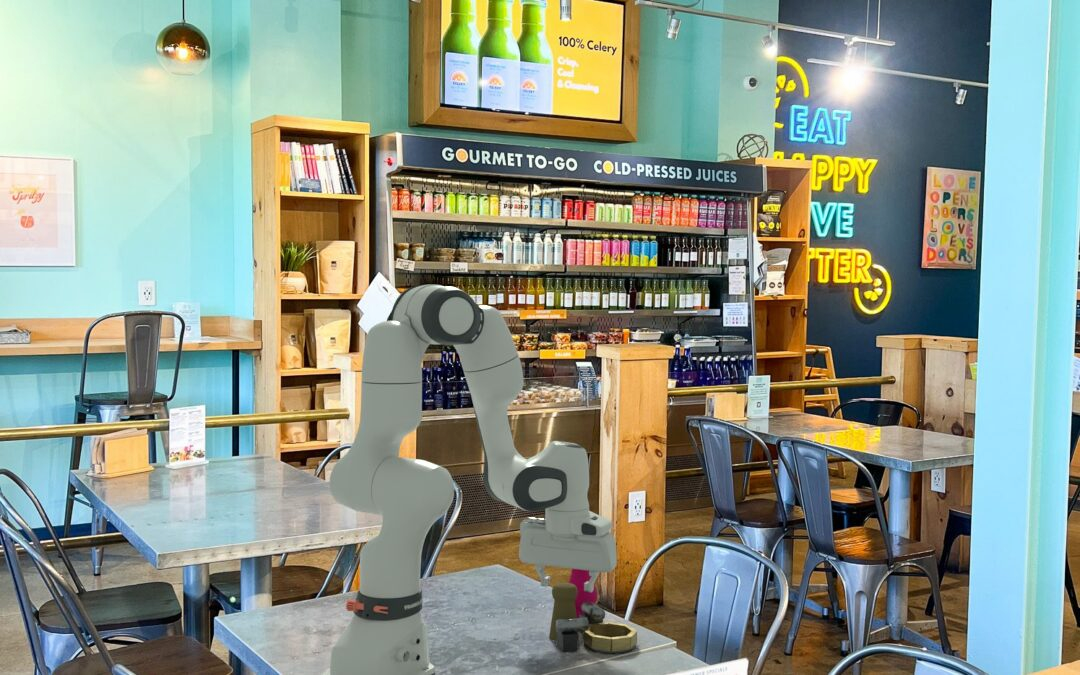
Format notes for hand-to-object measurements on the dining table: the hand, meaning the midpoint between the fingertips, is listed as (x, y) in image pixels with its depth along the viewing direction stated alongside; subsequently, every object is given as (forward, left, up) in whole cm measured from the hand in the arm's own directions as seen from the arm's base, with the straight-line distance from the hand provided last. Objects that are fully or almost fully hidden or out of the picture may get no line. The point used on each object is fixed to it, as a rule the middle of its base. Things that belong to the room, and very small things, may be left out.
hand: (567, 588), depth 212 cm
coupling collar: (-1, -10, -10) cm, 14 cm away
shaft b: (+5, -4, -10) cm, 12 cm away
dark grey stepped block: (-6, -4, -10) cm, 12 cm away
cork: (-1, 0, -10) cm, 10 cm away
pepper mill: (+14, +2, -10) cm, 17 cm away
